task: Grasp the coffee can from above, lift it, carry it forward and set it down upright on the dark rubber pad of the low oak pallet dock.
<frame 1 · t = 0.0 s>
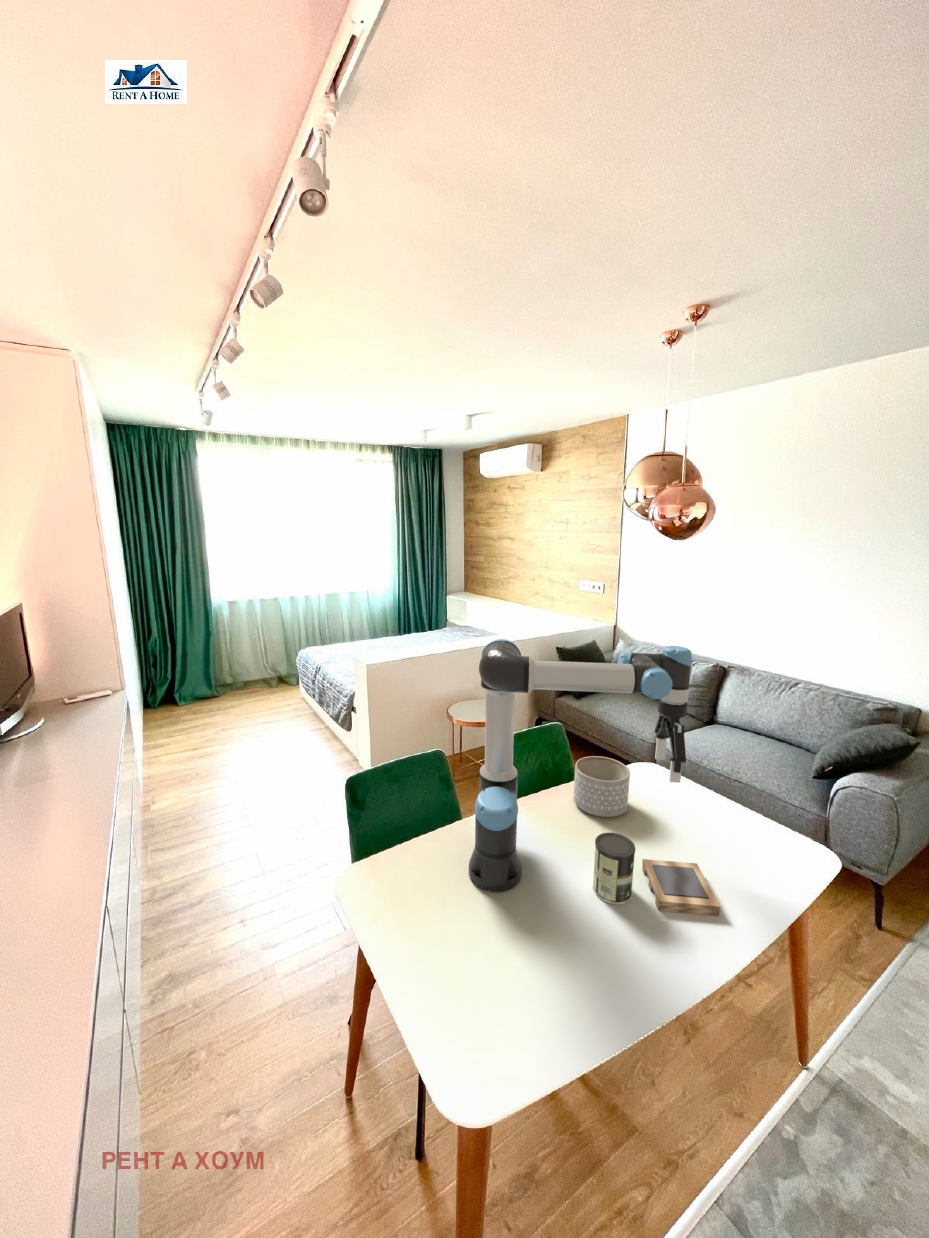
hand: (666, 769, 136), 28 cm above the table, fingers open, 13 cm apart
dock: (678, 890, 127), on the table
coffee can: (611, 891, 127), on the table
planter: (599, 805, 168), on the table
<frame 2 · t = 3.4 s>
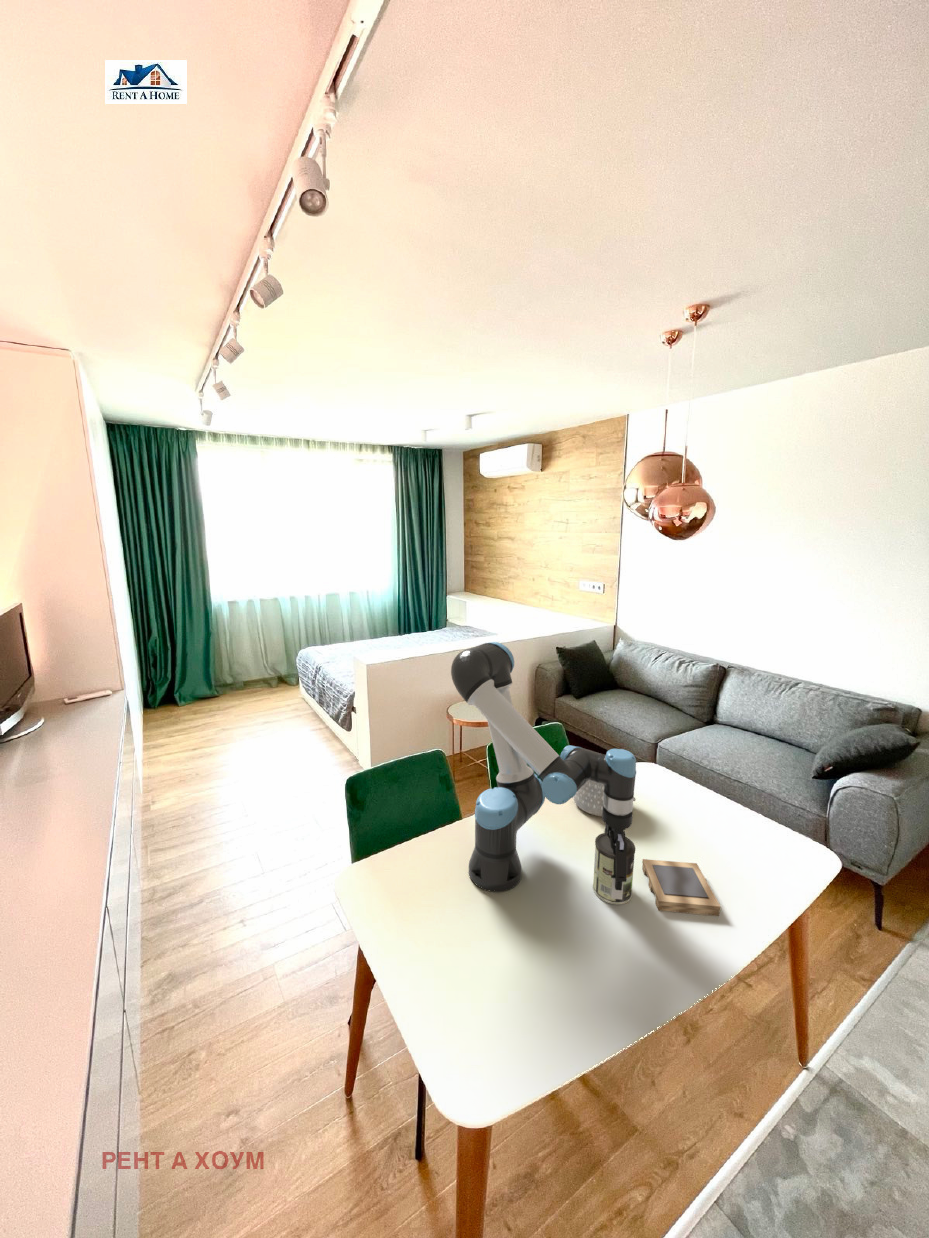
hand: (612, 882, 127), 2 cm above the table, fingers closed on coffee can, 10 cm apart
coffee can: (611, 891, 127), on the table, touching gripper
everything else where it was.
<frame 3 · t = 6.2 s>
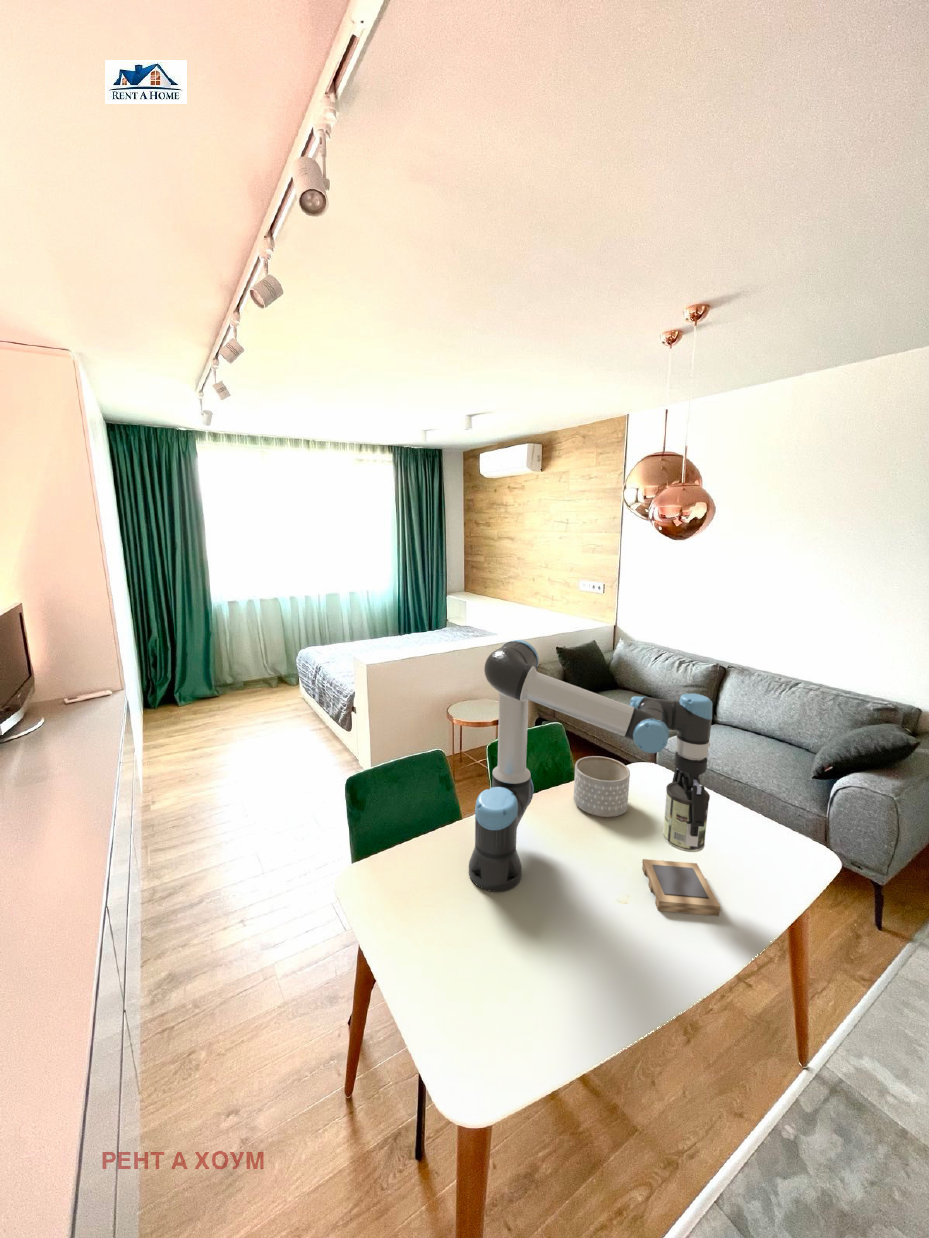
hand: (683, 832, 124), 18 cm above the table, fingers closed on coffee can, 10 cm apart
coffee can: (682, 840, 124), point 15 cm above the table, touching gripper
everything else where it was.
when the fingers open (7 cm above the table, at t = 8.7 s): coffee can drops 1 cm, resting on dock.
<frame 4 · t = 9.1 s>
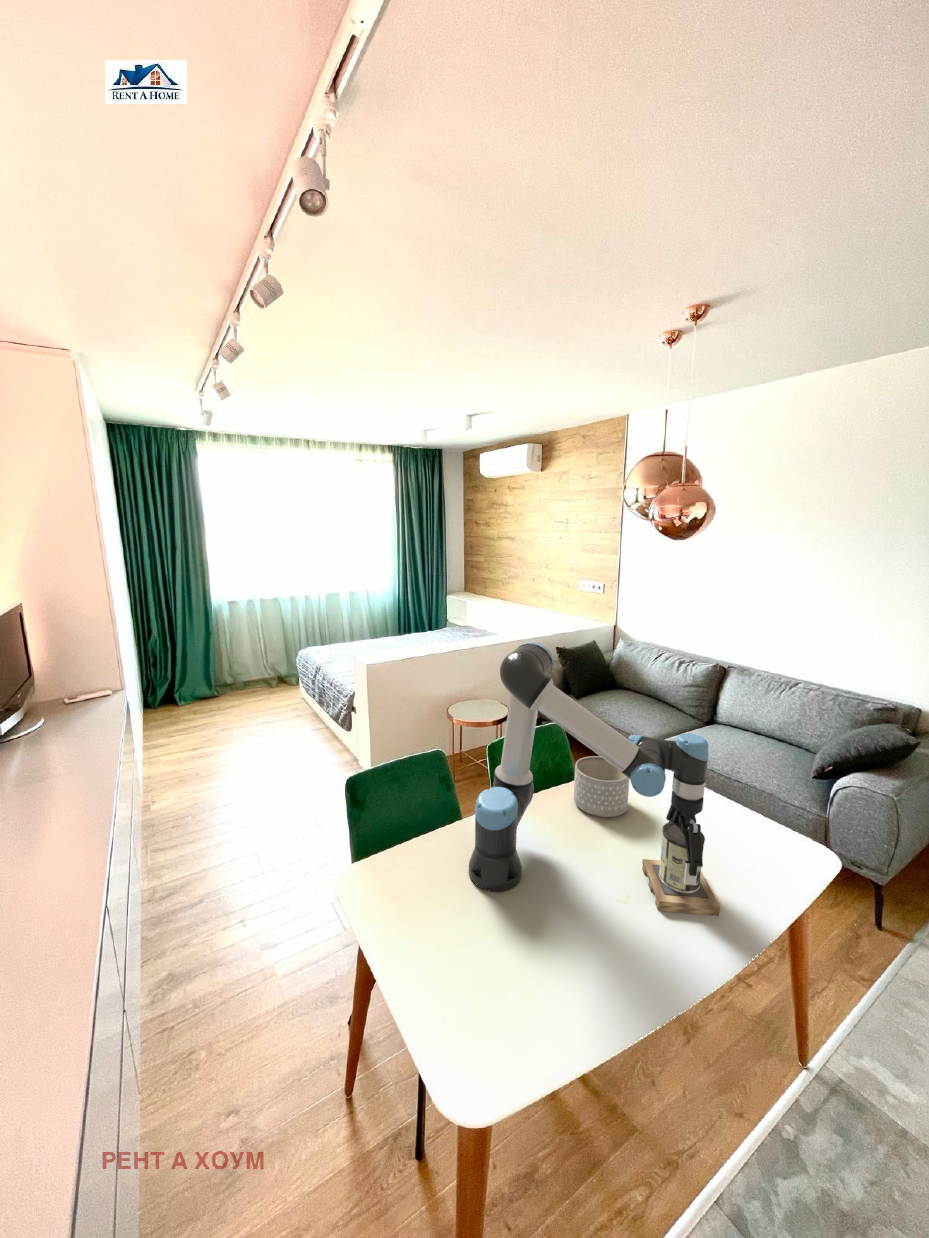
hand: (680, 865, 126), 8 cm above the table, fingers open, 13 cm apart
coffee can: (678, 880, 127), point 3 cm above the table, touching dock
everything else where it was.
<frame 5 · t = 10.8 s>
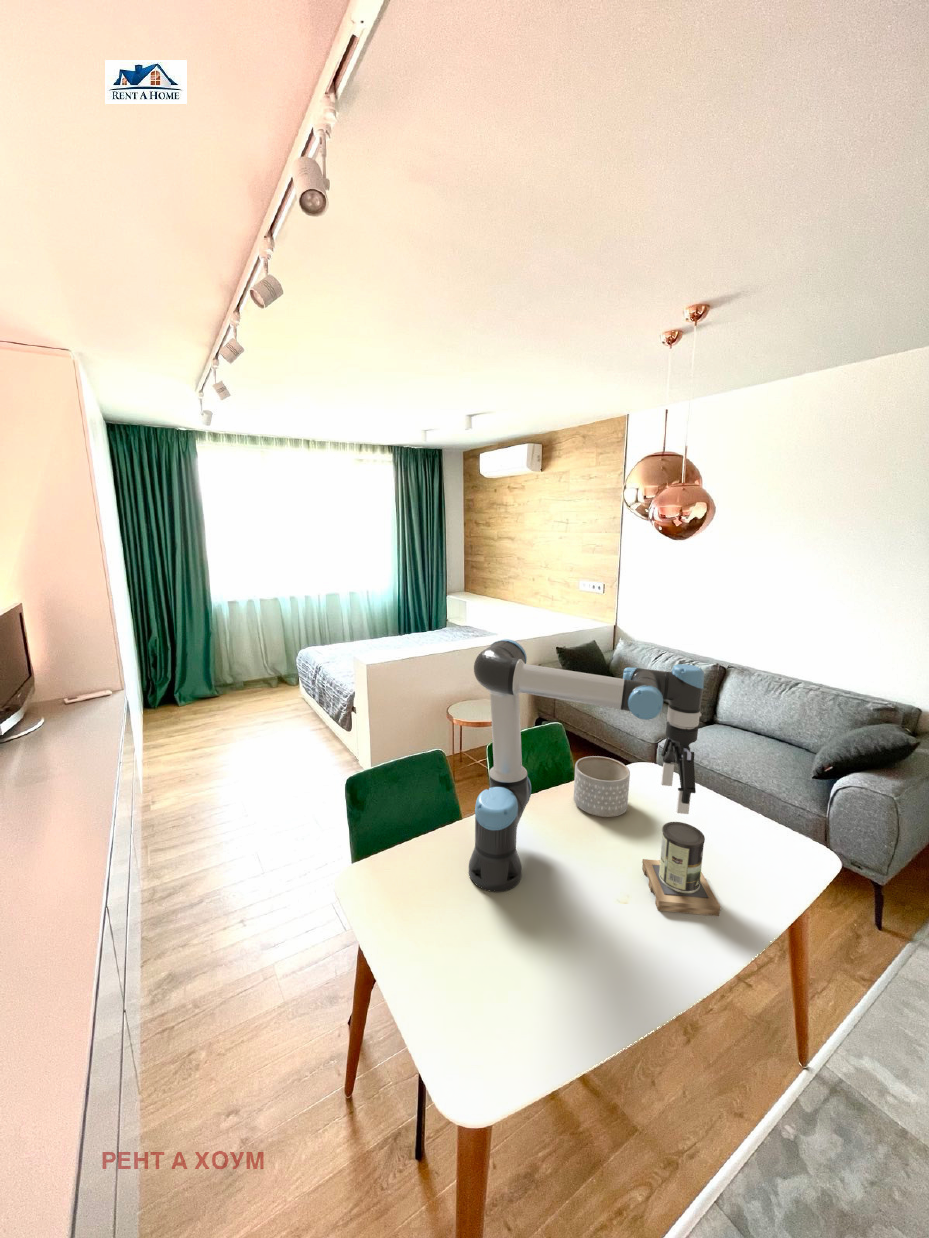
hand: (674, 798, 125), 26 cm above the table, fingers open, 13 cm apart
nothing on the table moved.
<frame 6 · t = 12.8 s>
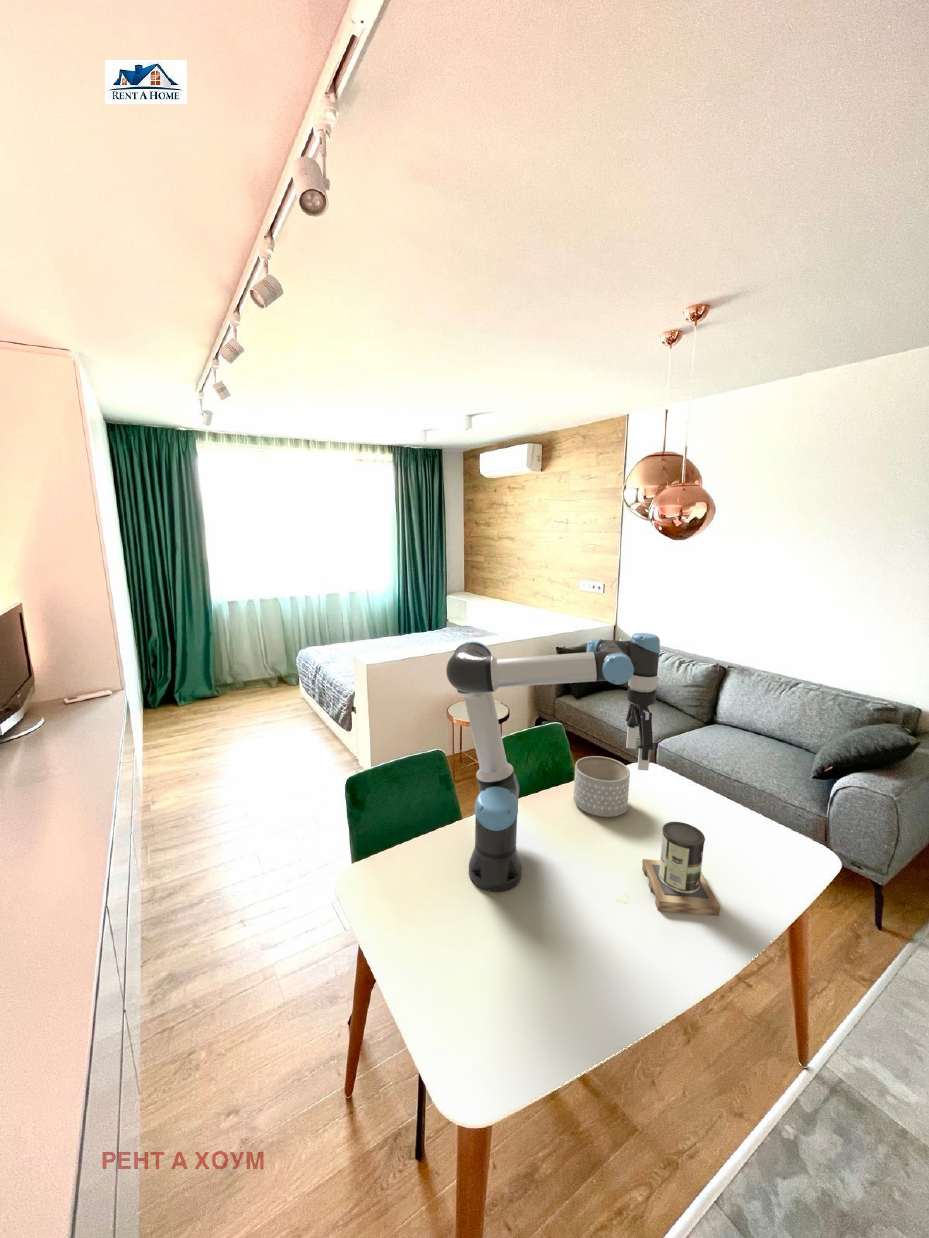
hand: (636, 758, 135), 32 cm above the table, fingers open, 13 cm apart
nothing on the table moved.
at the end: coffee can inside the target area on the dock (0.2 cm from its centre), point 3.1 cm above the dock's base; coffee can tilted 0°; the gripper is holding nothing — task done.
